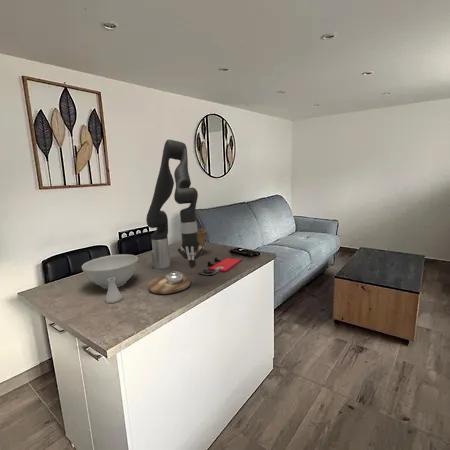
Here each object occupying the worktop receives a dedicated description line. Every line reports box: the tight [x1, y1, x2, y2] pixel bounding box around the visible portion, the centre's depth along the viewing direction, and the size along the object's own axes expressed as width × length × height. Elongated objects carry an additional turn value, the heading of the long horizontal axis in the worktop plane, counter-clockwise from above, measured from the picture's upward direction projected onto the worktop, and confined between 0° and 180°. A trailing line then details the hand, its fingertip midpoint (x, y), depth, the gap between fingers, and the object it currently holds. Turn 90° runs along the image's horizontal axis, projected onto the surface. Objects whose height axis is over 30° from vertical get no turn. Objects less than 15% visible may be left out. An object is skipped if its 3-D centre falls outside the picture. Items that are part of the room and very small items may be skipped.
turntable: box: [147, 274, 191, 295], centre depth 142 cm, size 20×20×3 cm
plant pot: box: [195, 228, 207, 256], centre depth 194 cm, size 15×15×16 cm
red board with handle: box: [198, 257, 243, 276], centre depth 167 cm, size 30×3×15 cm
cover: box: [165, 270, 184, 285], centre depth 141 cm, size 8×8×5 cm
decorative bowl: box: [81, 253, 139, 290], centre depth 149 cm, size 27×27×12 cm
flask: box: [104, 278, 124, 304], centre depth 130 cm, size 7×7×10 cm
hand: (192, 267), depth 138 cm, fingers closed
